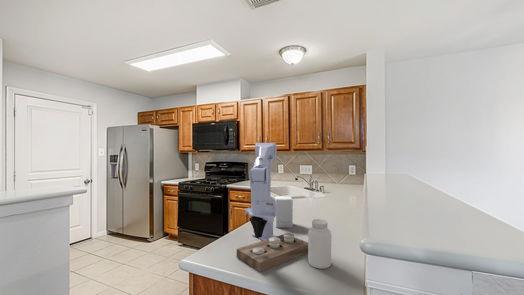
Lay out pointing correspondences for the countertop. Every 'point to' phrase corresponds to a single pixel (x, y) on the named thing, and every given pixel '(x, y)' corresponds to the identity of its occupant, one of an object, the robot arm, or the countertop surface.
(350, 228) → the countertop surface
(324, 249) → the pill bottle
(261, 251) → the outer knob
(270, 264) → the knob board
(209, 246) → the countertop surface
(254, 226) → the robot arm
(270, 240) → the middle knob
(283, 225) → the supplement box
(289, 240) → the outer knob
